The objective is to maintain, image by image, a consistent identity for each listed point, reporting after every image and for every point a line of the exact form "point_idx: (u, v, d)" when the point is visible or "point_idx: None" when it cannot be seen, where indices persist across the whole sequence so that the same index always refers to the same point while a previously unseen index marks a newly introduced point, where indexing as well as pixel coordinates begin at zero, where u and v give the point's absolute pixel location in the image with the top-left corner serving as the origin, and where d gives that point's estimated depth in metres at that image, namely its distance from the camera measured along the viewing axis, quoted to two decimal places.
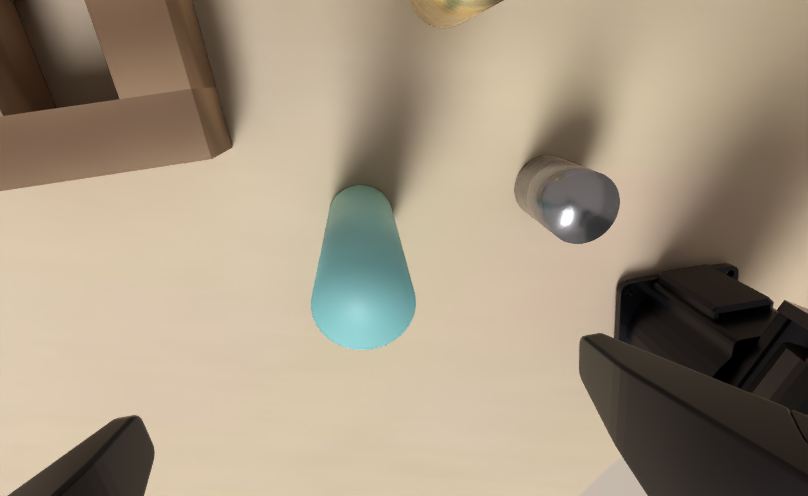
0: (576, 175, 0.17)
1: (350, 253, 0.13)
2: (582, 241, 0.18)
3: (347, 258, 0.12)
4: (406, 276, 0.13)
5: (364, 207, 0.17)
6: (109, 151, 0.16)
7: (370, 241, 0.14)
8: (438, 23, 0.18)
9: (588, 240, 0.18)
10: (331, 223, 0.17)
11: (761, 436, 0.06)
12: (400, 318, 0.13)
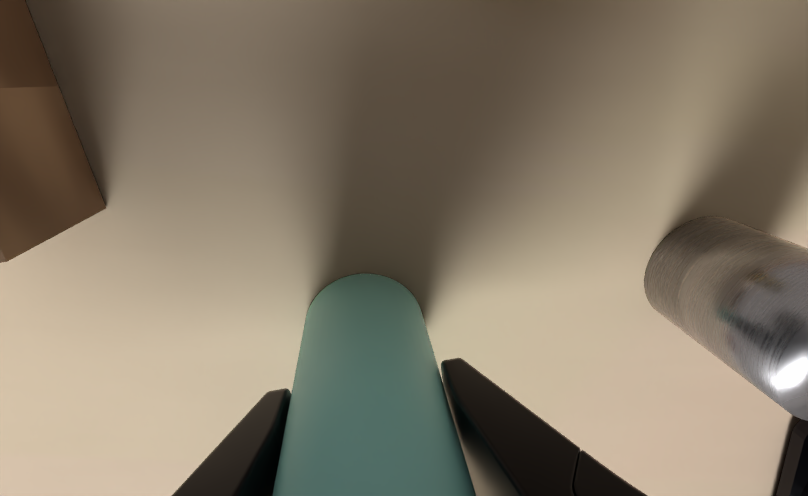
0: None
1: None
2: None
3: None
4: None
5: (377, 370, 0.07)
6: None
7: None
8: None
9: None
10: (299, 416, 0.07)
11: (534, 480, 0.05)
12: None
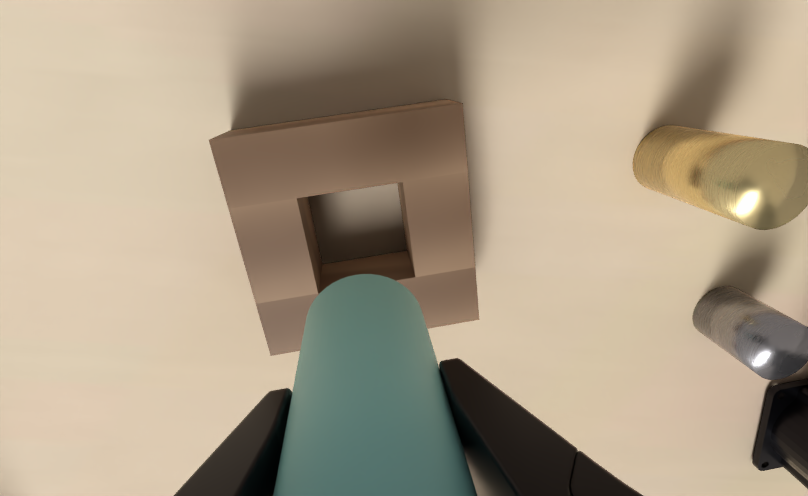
0: (784, 328, 0.20)
1: None
2: (778, 377, 0.21)
3: None
4: None
5: (379, 372, 0.07)
6: None
7: None
8: None
9: (783, 376, 0.21)
10: (300, 417, 0.07)
11: (531, 481, 0.05)
12: None
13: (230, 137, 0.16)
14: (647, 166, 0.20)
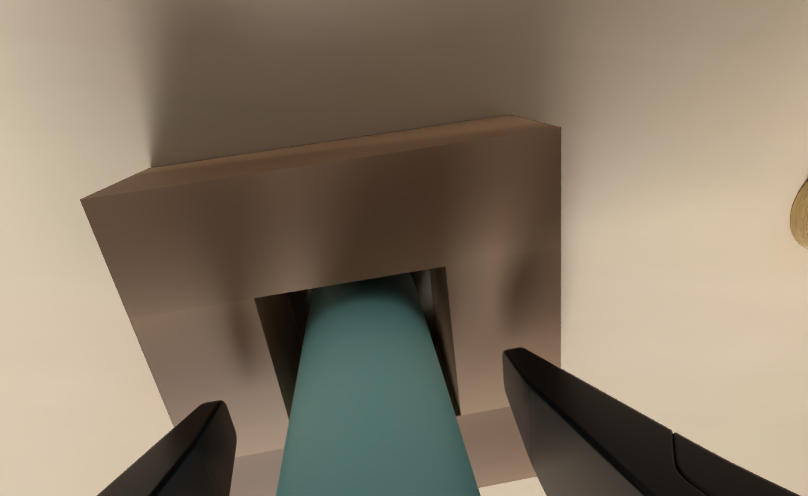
0: None
1: None
2: None
3: None
4: None
5: (376, 323, 0.09)
6: None
7: (404, 495, 0.05)
8: None
9: None
10: (310, 359, 0.08)
11: (635, 461, 0.05)
12: None
13: (122, 194, 0.08)
14: None
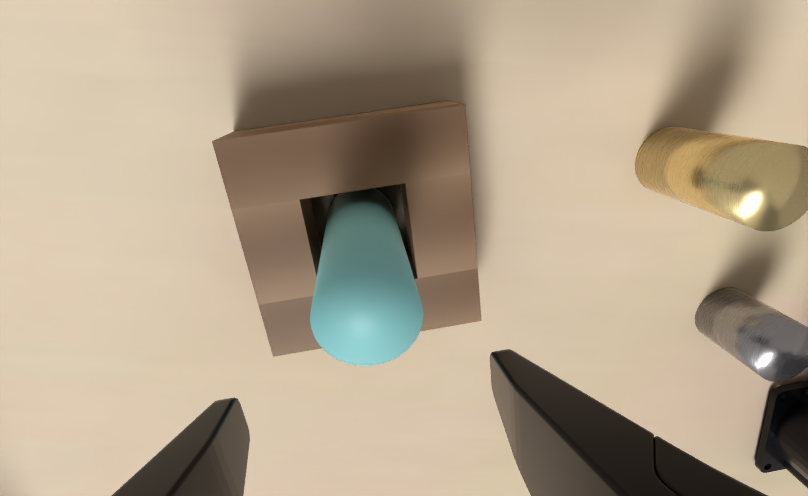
0: (787, 330, 0.20)
1: (352, 262, 0.12)
2: (781, 379, 0.21)
3: (350, 268, 0.11)
4: (413, 287, 0.12)
5: (366, 210, 0.16)
6: None
7: (374, 249, 0.13)
8: None
9: (786, 378, 0.21)
10: (331, 227, 0.16)
11: (614, 464, 0.05)
12: (406, 332, 0.12)
13: (233, 138, 0.16)
14: (649, 167, 0.20)
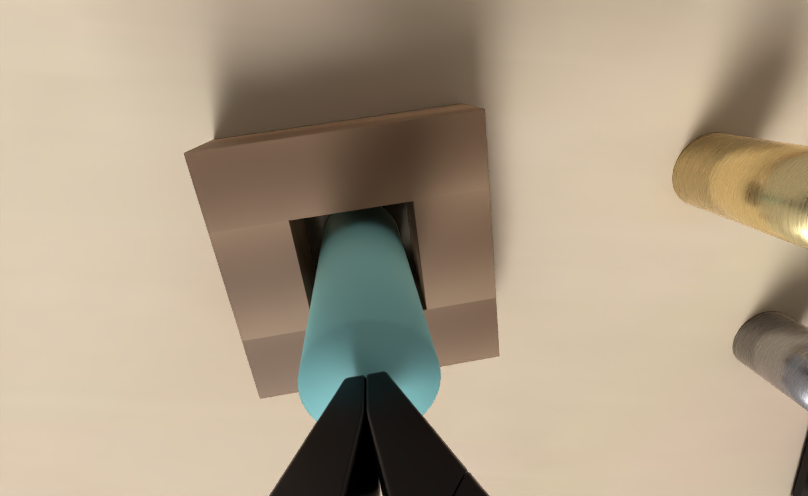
0: None
1: (352, 312, 0.09)
2: None
3: (348, 322, 0.09)
4: (428, 343, 0.09)
5: (367, 234, 0.14)
6: None
7: (378, 291, 0.10)
8: None
9: None
10: (326, 255, 0.13)
11: None
12: (419, 398, 0.10)
13: (209, 150, 0.13)
14: (691, 180, 0.17)
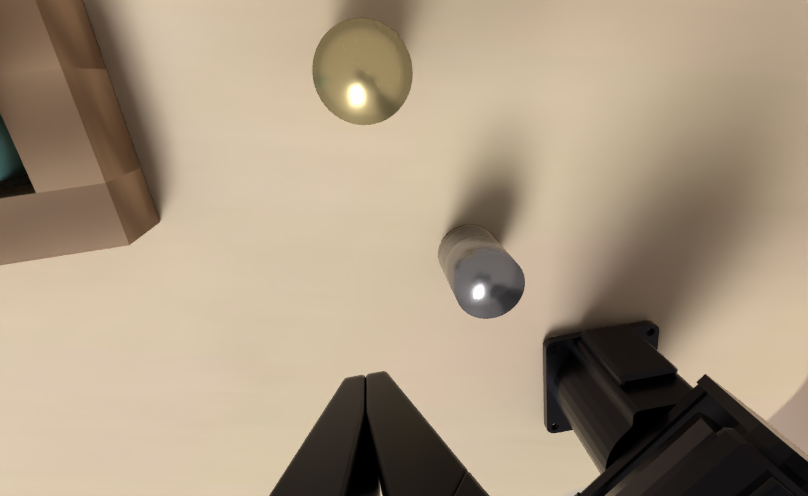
0: (480, 258, 0.18)
1: None
2: (491, 316, 0.19)
3: None
4: None
5: None
6: (28, 239, 0.17)
7: None
8: None
9: (497, 315, 0.19)
10: None
11: None
12: None
13: None
14: None
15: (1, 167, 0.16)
